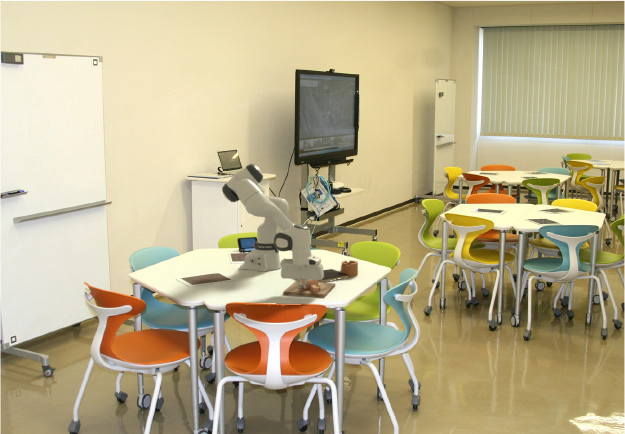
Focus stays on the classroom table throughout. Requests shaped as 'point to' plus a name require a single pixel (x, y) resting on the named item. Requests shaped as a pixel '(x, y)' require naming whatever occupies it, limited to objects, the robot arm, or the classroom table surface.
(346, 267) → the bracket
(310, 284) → the orange square-holed tool
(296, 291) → the board
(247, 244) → the small monitor
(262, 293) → the classroom table surface
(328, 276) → the hardcover book
